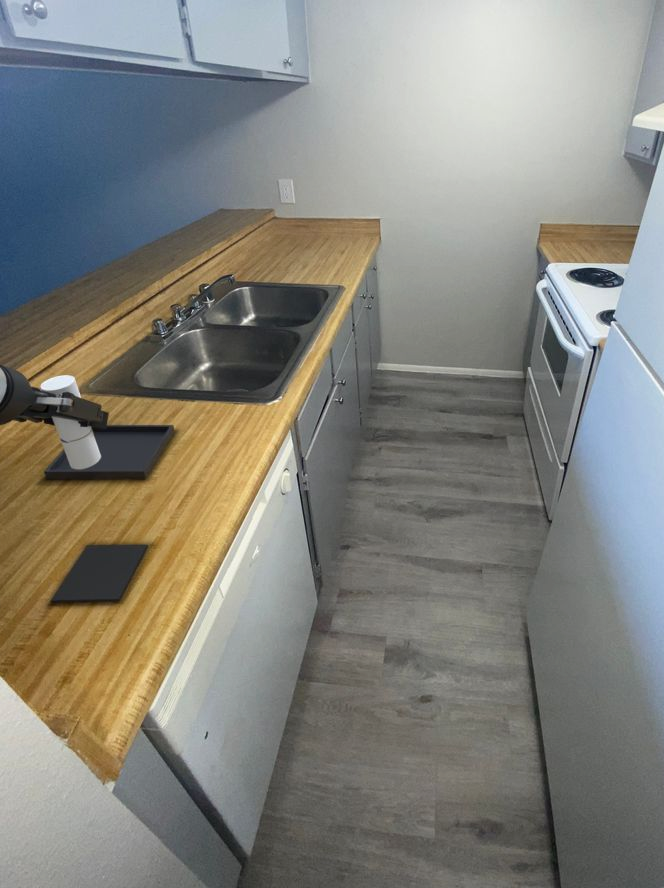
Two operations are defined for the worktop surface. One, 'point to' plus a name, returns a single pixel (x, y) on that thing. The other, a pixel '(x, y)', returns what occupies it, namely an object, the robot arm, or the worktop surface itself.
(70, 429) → the tube
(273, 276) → the worktop surface
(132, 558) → the mat
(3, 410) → the robot arm
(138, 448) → the tray
